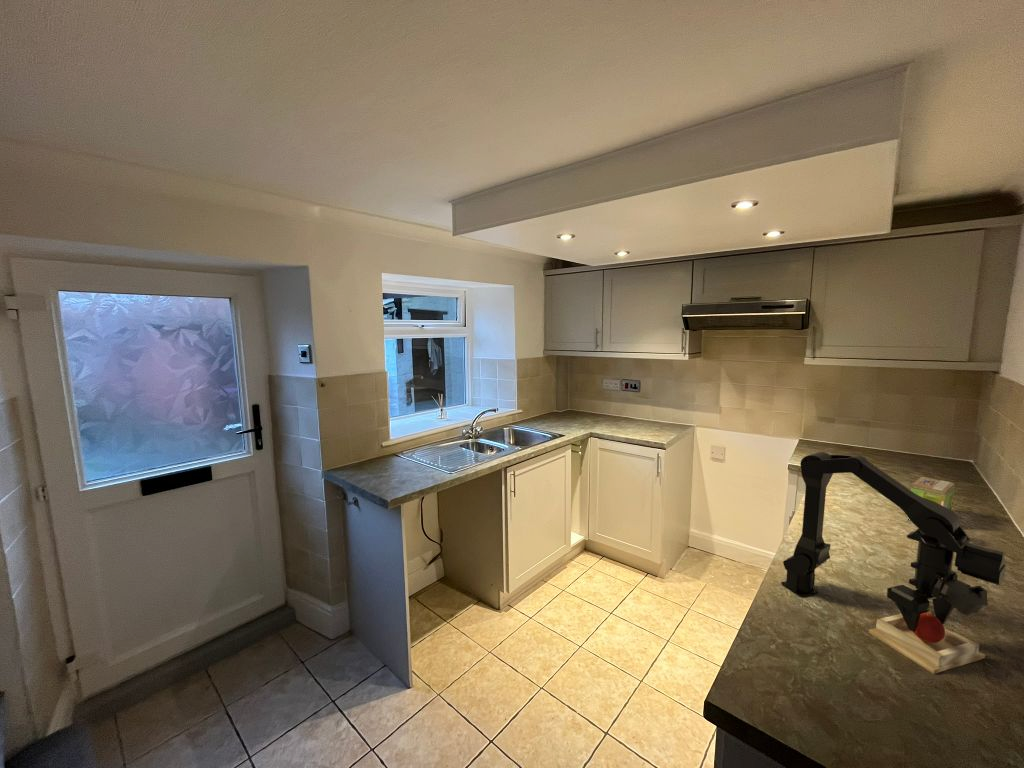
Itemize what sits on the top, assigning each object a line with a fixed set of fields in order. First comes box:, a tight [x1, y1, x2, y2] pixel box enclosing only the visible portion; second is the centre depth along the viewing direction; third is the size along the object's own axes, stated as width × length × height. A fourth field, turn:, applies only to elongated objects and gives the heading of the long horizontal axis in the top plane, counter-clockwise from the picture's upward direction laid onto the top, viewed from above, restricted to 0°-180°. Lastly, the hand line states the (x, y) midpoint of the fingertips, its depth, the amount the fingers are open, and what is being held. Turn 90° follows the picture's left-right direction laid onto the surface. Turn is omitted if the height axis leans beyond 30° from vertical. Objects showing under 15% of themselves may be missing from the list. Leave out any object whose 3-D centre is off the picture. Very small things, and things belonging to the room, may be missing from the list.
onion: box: [913, 610, 945, 643], centre depth 98 cm, size 6×6×8 cm
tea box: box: [906, 475, 956, 519], centre depth 164 cm, size 15×10×15 cm
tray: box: [868, 613, 986, 675], centre depth 99 cm, size 16×13×3 cm
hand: (926, 626), depth 99 cm, fingers open, 9 cm apart
